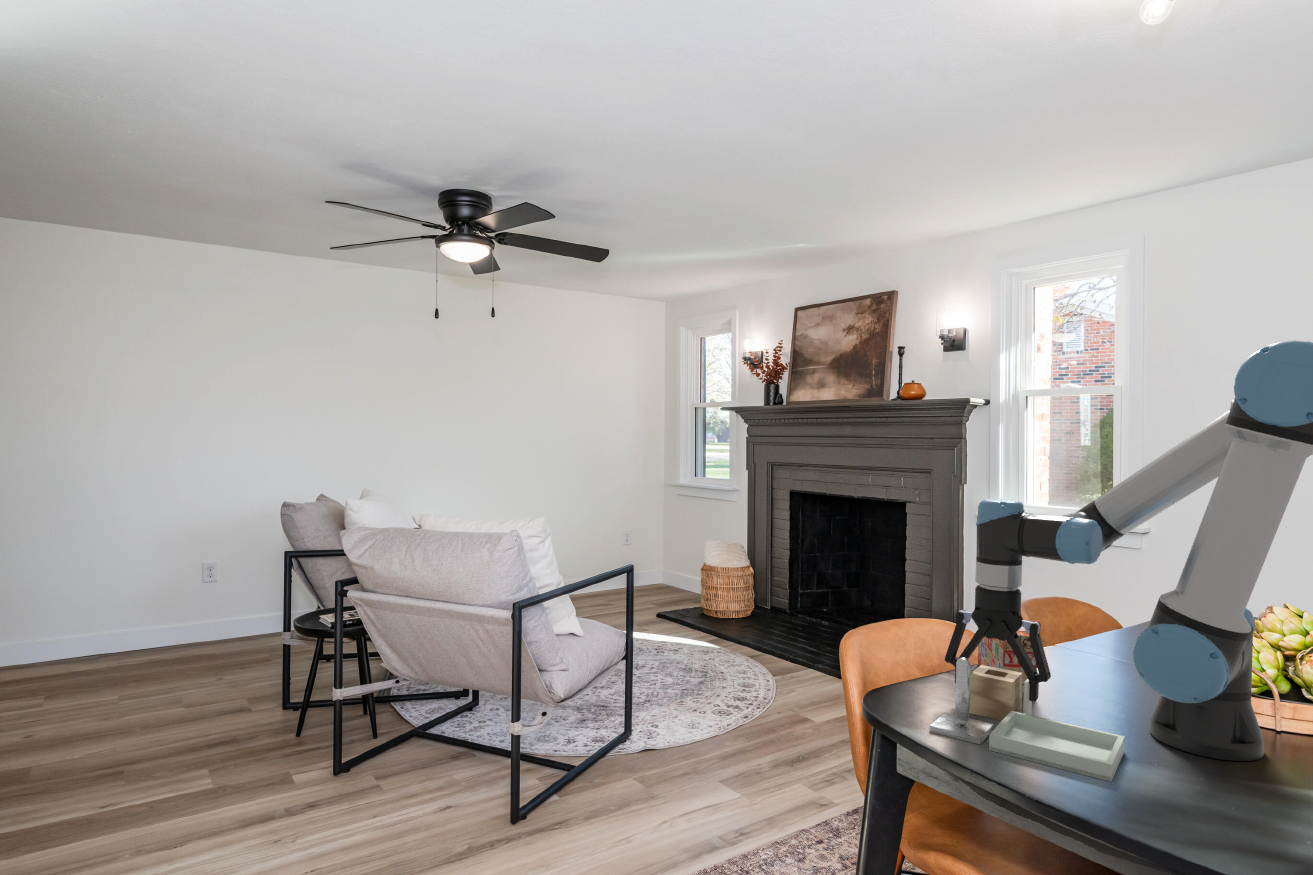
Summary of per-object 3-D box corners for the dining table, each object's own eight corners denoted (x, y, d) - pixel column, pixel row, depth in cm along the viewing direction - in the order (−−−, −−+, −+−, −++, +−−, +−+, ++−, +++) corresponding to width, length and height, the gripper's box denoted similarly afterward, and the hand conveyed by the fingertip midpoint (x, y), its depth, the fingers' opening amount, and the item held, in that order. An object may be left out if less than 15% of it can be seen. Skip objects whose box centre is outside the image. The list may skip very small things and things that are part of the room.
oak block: (1021, 711, 137) (1022, 672, 137) (1011, 722, 131) (1012, 682, 131) (980, 702, 141) (981, 664, 141) (969, 712, 136) (970, 673, 136)
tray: (1124, 752, 120) (1124, 736, 120) (1111, 781, 109) (1111, 764, 109) (1010, 725, 130) (1011, 710, 130) (989, 750, 120) (989, 734, 120)
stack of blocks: (976, 664, 165) (978, 608, 165) (1007, 667, 164) (1009, 610, 164) (1001, 697, 144) (1003, 632, 144) (1037, 700, 143) (1039, 635, 143)
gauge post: (993, 729, 128) (995, 657, 128) (980, 744, 122) (982, 668, 122) (944, 717, 133) (946, 648, 133) (929, 731, 127) (931, 658, 126)
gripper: (1073, 592, 132) (1069, 720, 132) (940, 575, 146) (937, 691, 146) (1064, 599, 126) (1061, 733, 126) (927, 580, 140) (924, 701, 140)
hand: (994, 710), depth 136 cm, fingers open, 10 cm apart
